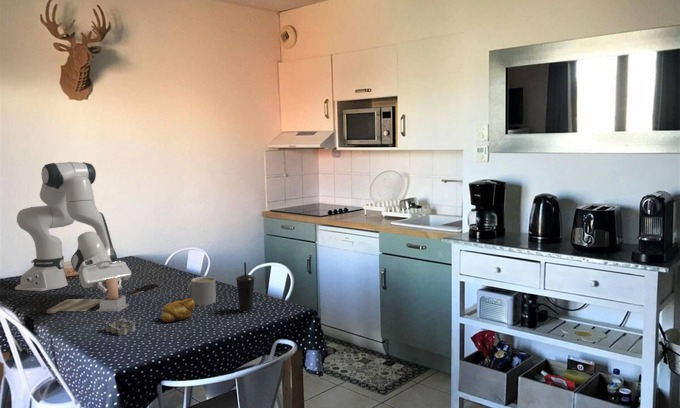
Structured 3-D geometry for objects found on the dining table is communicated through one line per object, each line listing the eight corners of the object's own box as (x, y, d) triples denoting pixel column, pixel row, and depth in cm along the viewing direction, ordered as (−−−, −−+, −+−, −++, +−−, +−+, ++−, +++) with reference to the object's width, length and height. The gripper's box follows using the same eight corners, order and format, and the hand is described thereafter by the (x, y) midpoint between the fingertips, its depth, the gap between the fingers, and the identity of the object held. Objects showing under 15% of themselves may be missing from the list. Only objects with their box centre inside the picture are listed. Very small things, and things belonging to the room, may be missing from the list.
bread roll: (167, 325, 207) (166, 304, 206) (154, 320, 214) (153, 300, 213) (197, 317, 217) (197, 297, 216) (184, 312, 223) (183, 293, 222)
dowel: (105, 309, 225) (103, 280, 224) (110, 305, 229) (108, 277, 228) (116, 309, 225) (114, 280, 224) (120, 305, 229) (119, 277, 228)
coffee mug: (220, 302, 238) (219, 279, 237) (200, 307, 231) (199, 283, 230) (203, 296, 247) (202, 274, 246) (183, 301, 240) (182, 278, 239)
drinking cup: (259, 308, 227) (257, 261, 225) (250, 314, 220) (248, 264, 218) (242, 307, 230) (241, 259, 228) (233, 312, 223) (231, 263, 221)
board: (46, 313, 223) (46, 310, 223) (67, 301, 239) (67, 299, 239) (85, 313, 223) (85, 310, 223) (104, 302, 239) (103, 299, 238)
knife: (120, 301, 242) (119, 298, 242) (109, 299, 245) (109, 296, 244) (161, 287, 264) (161, 284, 264) (151, 286, 267) (151, 283, 267)
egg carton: (103, 331, 202) (102, 320, 201) (121, 326, 208) (120, 315, 208) (120, 337, 196) (119, 325, 195) (138, 331, 202) (138, 320, 201)
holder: (95, 313, 223) (94, 301, 222) (106, 306, 232) (106, 294, 232) (119, 313, 222) (119, 301, 222) (130, 306, 232) (129, 294, 232)
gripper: (121, 264, 241) (134, 290, 236) (73, 272, 225) (86, 300, 220) (126, 255, 237) (139, 281, 232) (78, 263, 222) (90, 291, 217)
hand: (112, 290), depth 226 cm, fingers closed on dowel, 4 cm apart
